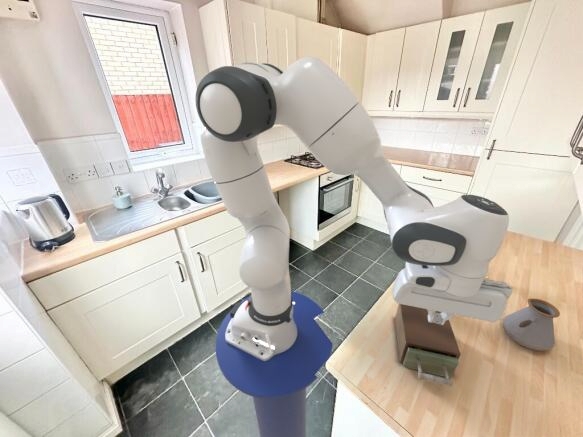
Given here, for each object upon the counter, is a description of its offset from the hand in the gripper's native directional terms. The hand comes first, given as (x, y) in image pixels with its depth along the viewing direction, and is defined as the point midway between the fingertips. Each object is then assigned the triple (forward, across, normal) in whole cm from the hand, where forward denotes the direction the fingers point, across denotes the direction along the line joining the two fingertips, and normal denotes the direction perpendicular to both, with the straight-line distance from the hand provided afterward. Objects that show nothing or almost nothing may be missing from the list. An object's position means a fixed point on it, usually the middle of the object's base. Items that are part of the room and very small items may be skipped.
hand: (435, 321), depth 55 cm
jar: (+18, -3, -5) cm, 19 cm away
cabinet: (+20, -3, -9) cm, 22 cm away
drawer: (+19, -3, -5) cm, 20 cm away
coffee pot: (+20, -30, -16) cm, 39 cm away
